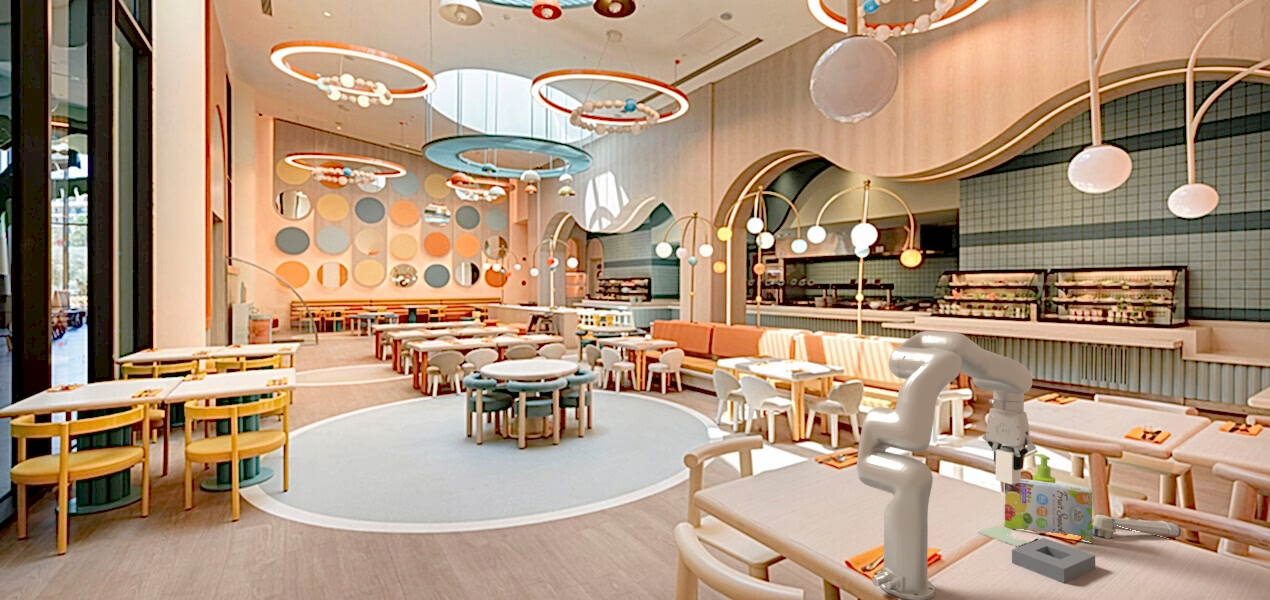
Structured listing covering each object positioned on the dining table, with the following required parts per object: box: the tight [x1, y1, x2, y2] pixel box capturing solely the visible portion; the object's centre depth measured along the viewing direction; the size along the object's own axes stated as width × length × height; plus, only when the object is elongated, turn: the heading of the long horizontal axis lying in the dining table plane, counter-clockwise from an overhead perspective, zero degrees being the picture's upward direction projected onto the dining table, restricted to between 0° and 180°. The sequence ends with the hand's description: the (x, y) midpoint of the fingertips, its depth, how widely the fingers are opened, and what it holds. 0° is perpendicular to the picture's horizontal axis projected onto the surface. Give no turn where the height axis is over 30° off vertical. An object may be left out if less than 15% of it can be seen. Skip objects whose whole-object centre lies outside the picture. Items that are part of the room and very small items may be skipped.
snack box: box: [1003, 478, 1093, 543], centre depth 167 cm, size 21×6×15 cm, turn 58°
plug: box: [995, 444, 1022, 484], centre depth 164 cm, size 5×5×10 cm
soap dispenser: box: [1032, 453, 1056, 483], centre depth 179 cm, size 6×7×20 cm
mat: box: [977, 525, 1030, 547], centre depth 164 cm, size 11×11×1 cm
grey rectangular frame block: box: [1011, 537, 1096, 584], centre depth 146 cm, size 16×12×4 cm
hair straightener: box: [1092, 514, 1182, 539], centre depth 165 cm, size 5×7×25 cm
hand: (1008, 466), depth 164 cm, fingers closed on plug, 4 cm apart
